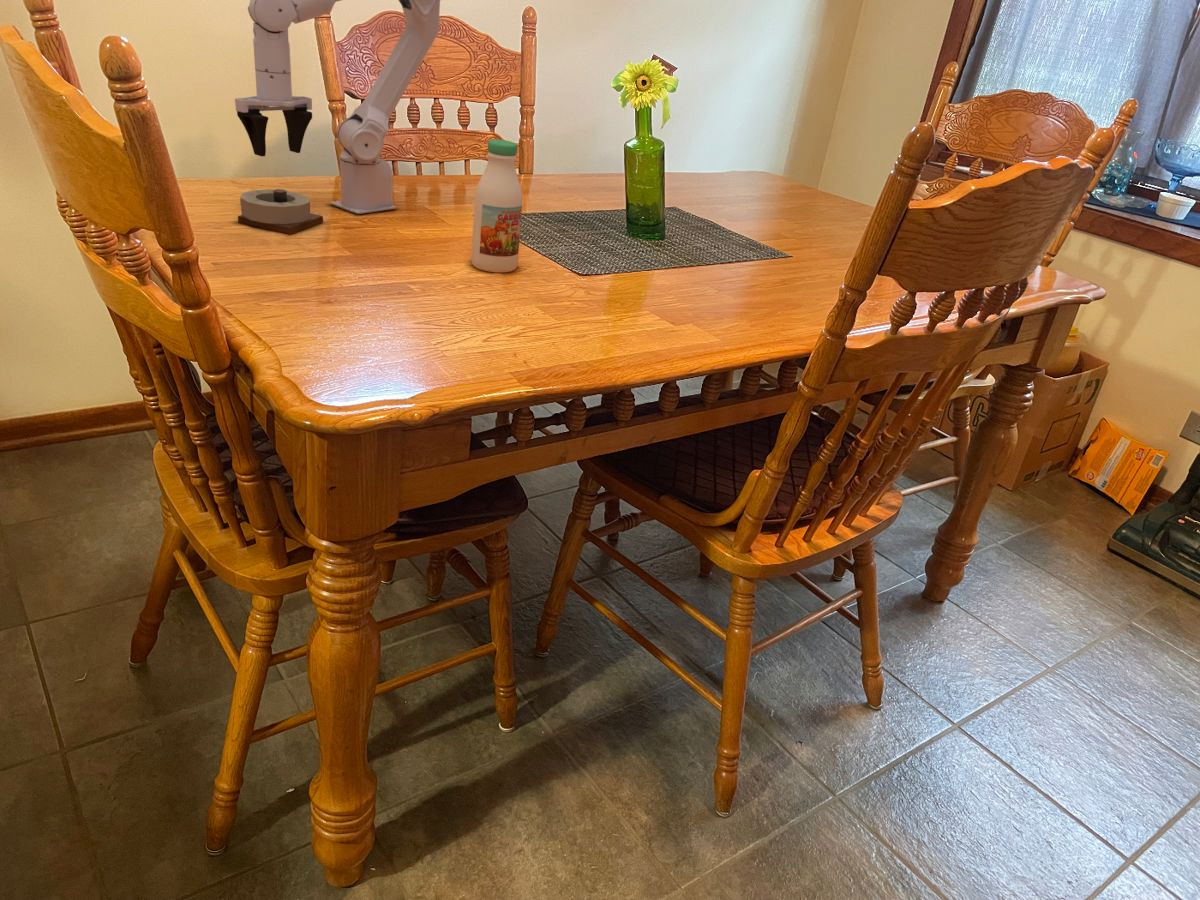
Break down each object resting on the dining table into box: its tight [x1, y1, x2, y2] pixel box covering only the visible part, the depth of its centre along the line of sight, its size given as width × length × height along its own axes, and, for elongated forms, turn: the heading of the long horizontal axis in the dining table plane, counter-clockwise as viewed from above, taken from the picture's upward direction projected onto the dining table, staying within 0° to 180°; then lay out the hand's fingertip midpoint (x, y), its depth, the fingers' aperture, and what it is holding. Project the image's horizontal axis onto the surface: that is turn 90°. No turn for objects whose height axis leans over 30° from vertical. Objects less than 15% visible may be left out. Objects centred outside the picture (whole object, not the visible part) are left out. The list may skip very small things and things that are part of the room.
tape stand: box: [237, 188, 324, 235], centre depth 142 cm, size 10×10×6 cm
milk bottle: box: [470, 139, 523, 273], centre depth 133 cm, size 8×8×20 cm
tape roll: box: [240, 188, 311, 224], centre depth 142 cm, size 11×11×3 cm
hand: (277, 153), depth 147 cm, fingers open, 7 cm apart
